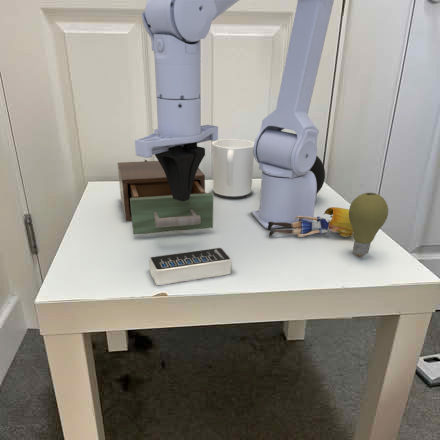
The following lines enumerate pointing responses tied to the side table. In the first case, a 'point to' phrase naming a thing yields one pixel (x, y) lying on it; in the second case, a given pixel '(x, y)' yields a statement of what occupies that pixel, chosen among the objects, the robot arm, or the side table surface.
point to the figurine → (318, 224)
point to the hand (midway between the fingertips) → (181, 199)
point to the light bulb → (366, 220)
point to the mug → (232, 168)
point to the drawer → (169, 208)
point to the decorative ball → (318, 173)
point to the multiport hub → (189, 266)
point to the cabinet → (143, 179)
